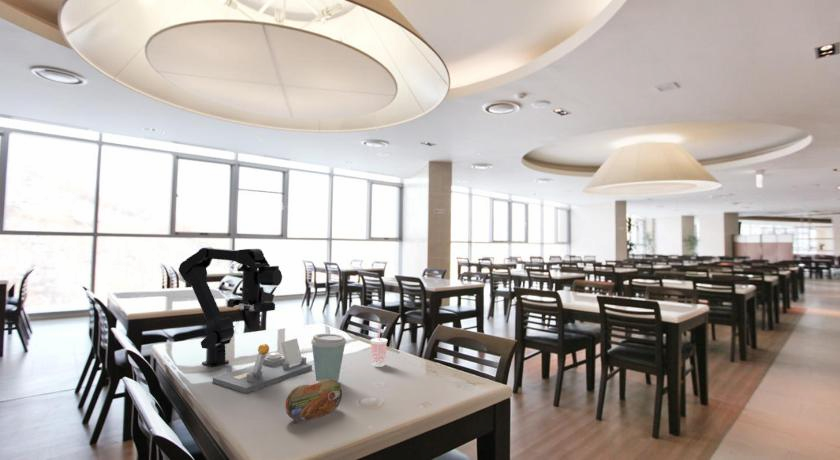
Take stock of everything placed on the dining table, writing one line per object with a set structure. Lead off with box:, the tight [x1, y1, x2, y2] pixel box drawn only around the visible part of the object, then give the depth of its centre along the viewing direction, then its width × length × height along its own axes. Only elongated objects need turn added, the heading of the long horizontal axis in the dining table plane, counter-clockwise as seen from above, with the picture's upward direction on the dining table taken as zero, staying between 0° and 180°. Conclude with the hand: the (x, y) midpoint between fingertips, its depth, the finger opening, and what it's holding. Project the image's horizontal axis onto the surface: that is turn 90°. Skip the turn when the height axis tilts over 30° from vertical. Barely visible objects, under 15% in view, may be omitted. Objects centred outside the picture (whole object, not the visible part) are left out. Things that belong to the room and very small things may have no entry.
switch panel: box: [212, 355, 313, 394], centre depth 132 cm, size 16×26×4 cm, turn 150°
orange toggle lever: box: [252, 343, 270, 379], centre depth 123 cm, size 3×3×11 cm
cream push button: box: [268, 352, 281, 361], centre depth 140 cm, size 4×4×2 cm
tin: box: [284, 379, 343, 423], centre depth 103 cm, size 15×3×8 cm, turn 134°
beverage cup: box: [370, 325, 388, 368], centre depth 146 cm, size 6×6×14 cm
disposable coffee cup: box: [310, 333, 347, 383], centre depth 126 cm, size 11×11×15 cm
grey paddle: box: [280, 338, 303, 365], centre depth 139 cm, size 1×6×8 cm, turn 150°
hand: (250, 329), depth 141 cm, fingers closed
